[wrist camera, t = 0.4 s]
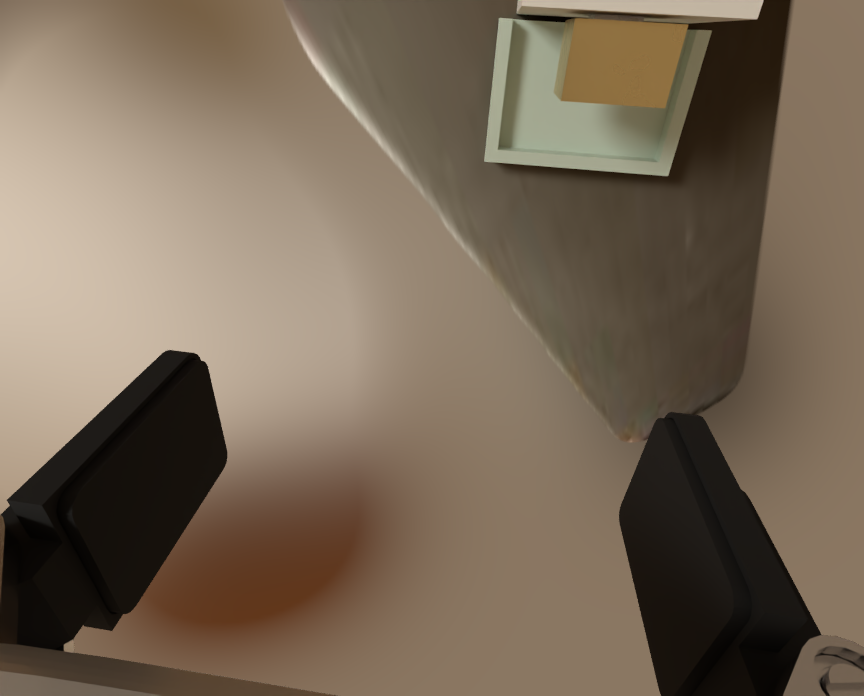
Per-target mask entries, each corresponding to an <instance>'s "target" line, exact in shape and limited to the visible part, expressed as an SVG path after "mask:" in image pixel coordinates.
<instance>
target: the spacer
mask: <svg viewBox="0 0 864 696" xmlns="http://www.w3.org/2000/svg"><path fill="white" fill-rule="evenodd" d="M687 28H688V24H670V23H653V22H636V21H618V20H601V19H584V18H573V19H569V20H565V26H564V32H563V38H562V44H561V50H560V57H559V63H558V69H557V75H556V81H555V87H554V94H555V95H556V96H557V97H558V98H559V99H560V101H567V102H581V103H595V104H610V105H624V106H638V107H652V108H665V107H666V104H667V100H668V97H669V93H670V89H671V86H672V82H673V79H674V75H675V71H676V68H677V64H678V61H679V57H680V53H681V50H682V46H683V43H684V39H685V36H686V32H687Z"/></svg>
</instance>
